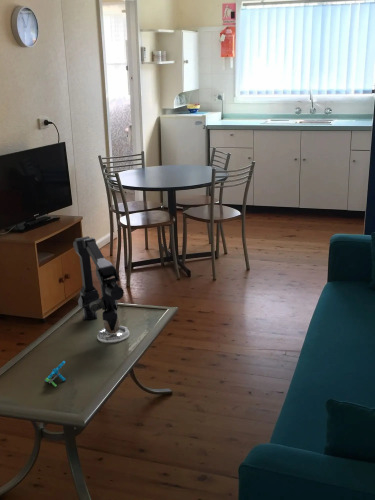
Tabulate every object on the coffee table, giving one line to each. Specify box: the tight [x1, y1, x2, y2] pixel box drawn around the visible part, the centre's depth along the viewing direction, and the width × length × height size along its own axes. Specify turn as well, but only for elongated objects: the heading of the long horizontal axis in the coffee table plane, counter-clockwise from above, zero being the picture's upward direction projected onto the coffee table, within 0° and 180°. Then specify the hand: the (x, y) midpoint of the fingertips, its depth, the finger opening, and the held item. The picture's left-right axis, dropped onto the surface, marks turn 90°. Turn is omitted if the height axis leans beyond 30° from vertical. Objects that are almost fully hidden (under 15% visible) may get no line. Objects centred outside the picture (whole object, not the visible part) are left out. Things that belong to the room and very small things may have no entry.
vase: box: [103, 318, 121, 334], centre depth 248 cm, size 7×7×9 cm
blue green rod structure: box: [44, 360, 66, 388], centre depth 214 cm, size 11×6×10 cm
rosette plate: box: [96, 324, 131, 344], centre depth 250 cm, size 14×14×2 cm
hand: (112, 327), depth 249 cm, fingers closed on vase, 7 cm apart
